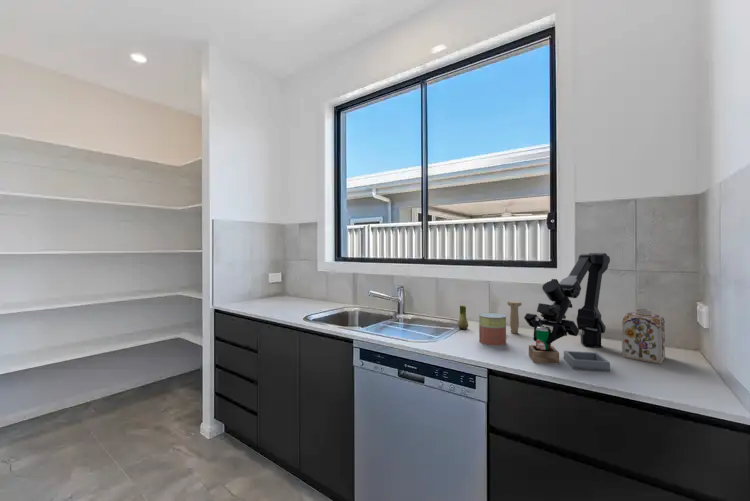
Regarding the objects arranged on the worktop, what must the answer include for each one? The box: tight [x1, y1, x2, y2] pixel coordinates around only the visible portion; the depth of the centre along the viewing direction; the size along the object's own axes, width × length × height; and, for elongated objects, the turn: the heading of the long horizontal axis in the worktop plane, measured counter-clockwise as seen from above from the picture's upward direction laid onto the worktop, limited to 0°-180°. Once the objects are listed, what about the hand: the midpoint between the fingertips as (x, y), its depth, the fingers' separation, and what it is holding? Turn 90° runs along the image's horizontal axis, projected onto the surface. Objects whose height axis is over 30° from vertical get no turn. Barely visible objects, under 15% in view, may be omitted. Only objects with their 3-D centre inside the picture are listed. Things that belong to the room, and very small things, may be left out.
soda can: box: [535, 325, 552, 352], centre depth 126 cm, size 5×5×12 cm
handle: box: [506, 300, 522, 334], centre depth 166 cm, size 5×6×15 cm
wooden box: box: [528, 344, 560, 365], centre depth 126 cm, size 8×8×4 cm
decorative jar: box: [621, 308, 666, 365], centre depth 128 cm, size 12×12×18 cm
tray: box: [563, 350, 611, 372], centre depth 120 cm, size 11×11×3 cm
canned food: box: [478, 312, 507, 347], centre depth 149 cm, size 11×11×12 cm
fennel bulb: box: [458, 304, 469, 330], centre depth 176 cm, size 6×5×12 cm
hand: (540, 342), depth 126 cm, fingers closed on soda can, 5 cm apart
